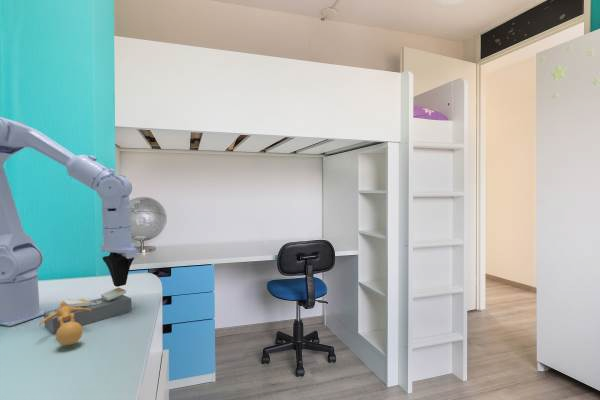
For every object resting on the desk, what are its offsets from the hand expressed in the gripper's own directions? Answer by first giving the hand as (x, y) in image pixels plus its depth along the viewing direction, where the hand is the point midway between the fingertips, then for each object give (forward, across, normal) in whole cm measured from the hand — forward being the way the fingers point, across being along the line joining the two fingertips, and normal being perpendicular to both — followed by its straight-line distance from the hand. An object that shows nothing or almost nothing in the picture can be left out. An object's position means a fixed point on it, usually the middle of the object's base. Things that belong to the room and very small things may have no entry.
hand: (120, 285), depth 79 cm
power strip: (+6, 0, +6) cm, 9 cm away
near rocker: (+2, 0, +9) cm, 9 cm away
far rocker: (+2, 0, +1) cm, 2 cm away
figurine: (+5, -13, +14) cm, 20 cm away
